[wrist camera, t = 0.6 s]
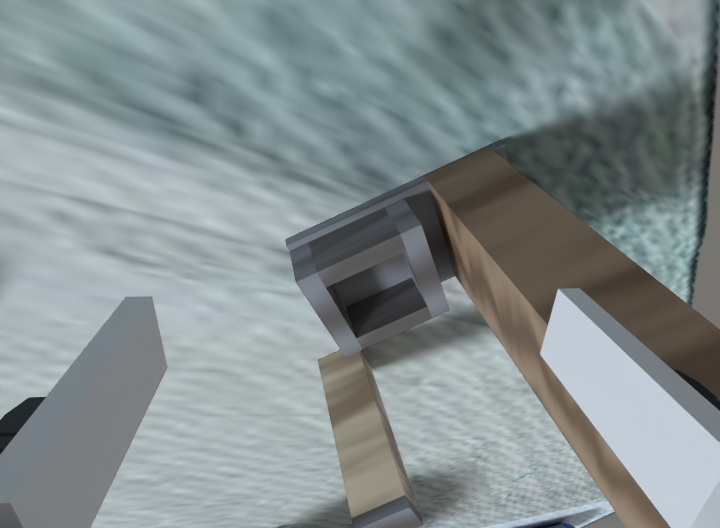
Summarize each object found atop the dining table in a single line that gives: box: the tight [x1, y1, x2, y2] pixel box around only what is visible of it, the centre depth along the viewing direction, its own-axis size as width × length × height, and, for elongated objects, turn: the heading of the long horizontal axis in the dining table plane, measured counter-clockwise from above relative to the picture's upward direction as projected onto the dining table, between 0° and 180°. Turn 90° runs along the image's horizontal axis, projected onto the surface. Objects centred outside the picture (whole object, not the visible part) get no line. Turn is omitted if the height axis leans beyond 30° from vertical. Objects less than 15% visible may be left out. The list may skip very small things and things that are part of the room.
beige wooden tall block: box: [318, 350, 424, 528], centre depth 35 cm, size 4×4×15 cm
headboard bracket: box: [286, 140, 720, 528], centre depth 23 cm, size 10×17×28 cm, turn 111°
